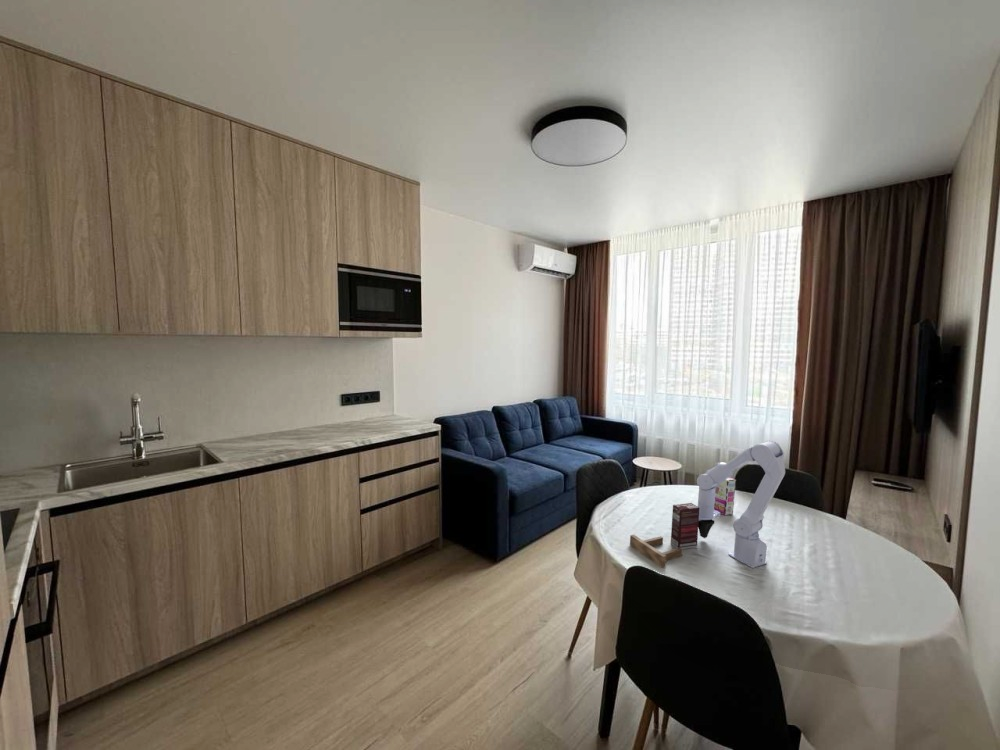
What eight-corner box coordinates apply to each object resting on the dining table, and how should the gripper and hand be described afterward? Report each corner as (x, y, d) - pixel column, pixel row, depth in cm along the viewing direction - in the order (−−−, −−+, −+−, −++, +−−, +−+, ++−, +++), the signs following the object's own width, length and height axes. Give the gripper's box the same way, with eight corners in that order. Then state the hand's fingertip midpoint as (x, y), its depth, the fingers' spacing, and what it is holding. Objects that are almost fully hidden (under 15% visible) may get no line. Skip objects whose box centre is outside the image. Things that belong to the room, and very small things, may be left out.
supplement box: (688, 541, 160) (691, 502, 159) (697, 547, 156) (700, 507, 154) (669, 543, 158) (672, 504, 156) (677, 550, 154) (680, 509, 152)
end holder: (688, 559, 147) (689, 549, 147) (662, 567, 142) (662, 556, 141) (654, 538, 161) (655, 529, 161) (629, 545, 156) (630, 535, 156)
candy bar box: (733, 514, 185) (736, 479, 183) (724, 516, 183) (728, 480, 182) (714, 504, 196) (716, 471, 194) (705, 505, 194) (708, 472, 192)
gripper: (710, 496, 166) (707, 528, 168) (684, 502, 160) (681, 535, 162) (725, 503, 160) (723, 536, 161) (699, 509, 154) (696, 543, 155)
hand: (703, 536), depth 161 cm, fingers closed
